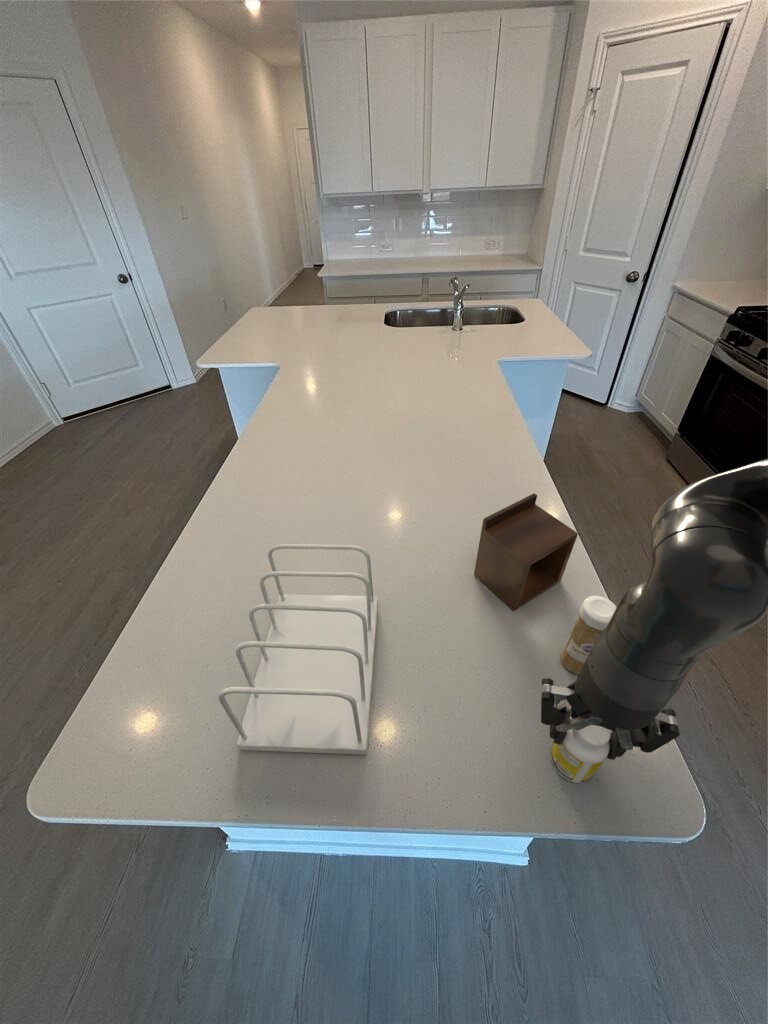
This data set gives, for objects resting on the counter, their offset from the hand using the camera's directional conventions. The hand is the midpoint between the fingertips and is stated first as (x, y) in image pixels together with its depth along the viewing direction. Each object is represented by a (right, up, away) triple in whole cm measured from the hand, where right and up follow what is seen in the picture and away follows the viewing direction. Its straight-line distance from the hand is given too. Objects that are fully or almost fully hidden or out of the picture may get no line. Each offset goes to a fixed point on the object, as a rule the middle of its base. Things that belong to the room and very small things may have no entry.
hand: (582, 743), depth 53 cm
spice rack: (0, +16, +27) cm, 32 cm away
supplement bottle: (0, -4, +4) cm, 6 cm away
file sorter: (-35, +4, +15) cm, 38 cm away
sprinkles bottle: (+5, +5, +14) cm, 16 cm away
